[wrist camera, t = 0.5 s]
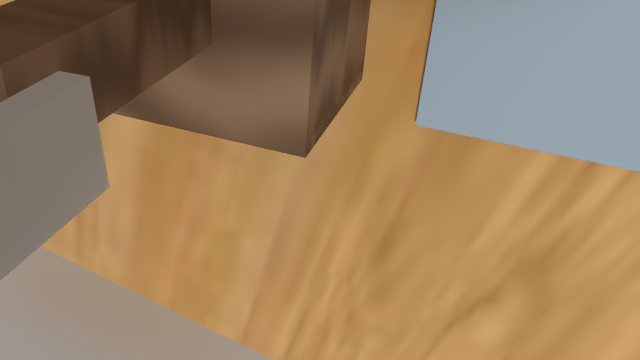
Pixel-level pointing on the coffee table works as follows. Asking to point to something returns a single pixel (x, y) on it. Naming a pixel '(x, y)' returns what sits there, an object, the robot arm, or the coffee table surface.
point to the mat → (538, 76)
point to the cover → (197, 61)
